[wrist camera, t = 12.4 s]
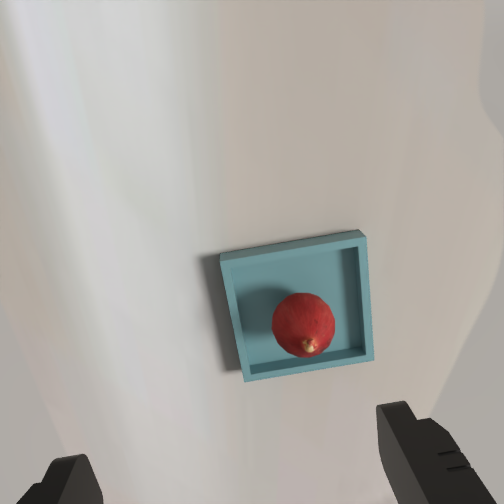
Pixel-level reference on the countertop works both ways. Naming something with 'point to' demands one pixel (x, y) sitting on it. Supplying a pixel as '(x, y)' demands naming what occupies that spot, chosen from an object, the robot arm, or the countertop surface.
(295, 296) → the onion
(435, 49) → the countertop surface
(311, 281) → the tray
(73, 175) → the countertop surface
